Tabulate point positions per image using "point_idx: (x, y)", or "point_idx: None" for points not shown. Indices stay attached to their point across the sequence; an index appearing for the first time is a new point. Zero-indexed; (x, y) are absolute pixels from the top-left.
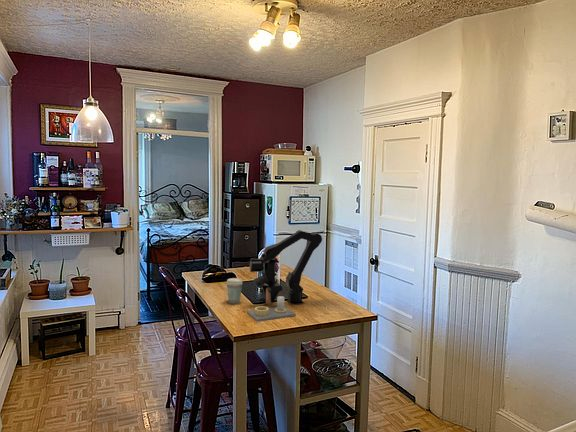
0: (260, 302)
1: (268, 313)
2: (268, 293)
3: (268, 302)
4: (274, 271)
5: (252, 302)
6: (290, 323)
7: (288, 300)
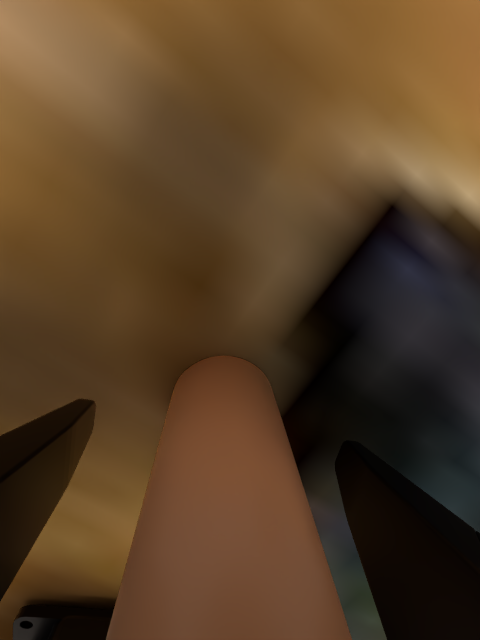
0: (345, 328)
1: None
2: (151, 549)
3: (183, 386)
4: None
5: (436, 218)
6: None
7: None
